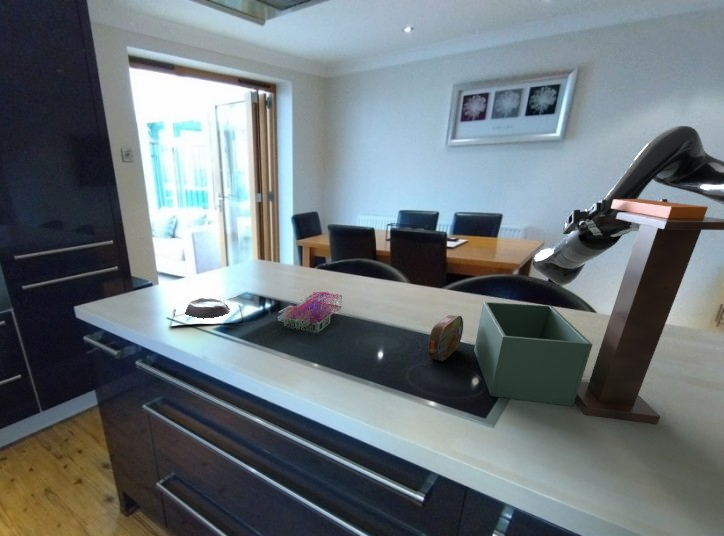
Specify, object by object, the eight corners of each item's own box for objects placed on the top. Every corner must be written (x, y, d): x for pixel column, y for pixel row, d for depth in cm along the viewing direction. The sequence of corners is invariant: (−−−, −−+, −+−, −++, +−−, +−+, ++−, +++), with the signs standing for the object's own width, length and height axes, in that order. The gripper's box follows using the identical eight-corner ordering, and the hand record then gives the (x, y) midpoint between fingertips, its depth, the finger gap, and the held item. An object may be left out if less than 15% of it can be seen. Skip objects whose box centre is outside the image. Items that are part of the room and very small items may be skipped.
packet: (637, 208, 69) (640, 199, 69) (703, 218, 54) (708, 206, 53) (610, 208, 71) (613, 199, 70) (667, 218, 55) (671, 206, 54)
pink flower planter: (312, 298, 133) (312, 283, 131) (354, 303, 126) (355, 288, 124) (267, 326, 109) (266, 308, 107) (316, 335, 102) (316, 316, 100)
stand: (622, 388, 74) (686, 212, 62) (664, 431, 62) (754, 222, 49) (560, 381, 77) (610, 212, 64) (589, 421, 64) (657, 221, 52)
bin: (538, 356, 87) (552, 305, 83) (573, 406, 69) (592, 344, 64) (474, 350, 91) (483, 301, 86) (490, 396, 73) (502, 336, 68)
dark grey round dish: (169, 328, 110) (168, 315, 108) (176, 306, 128) (174, 295, 127) (243, 323, 112) (242, 310, 111) (239, 302, 131) (238, 291, 129)
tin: (437, 367, 84) (442, 330, 81) (423, 362, 86) (427, 327, 83) (461, 345, 94) (467, 312, 91) (448, 342, 96) (453, 309, 93)
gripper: (550, 223, 85) (586, 184, 70) (630, 223, 81) (686, 182, 65) (548, 256, 84) (584, 224, 69) (628, 258, 80) (686, 225, 64)
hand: (634, 204), depth 67 cm, fingers open, 8 cm apart
